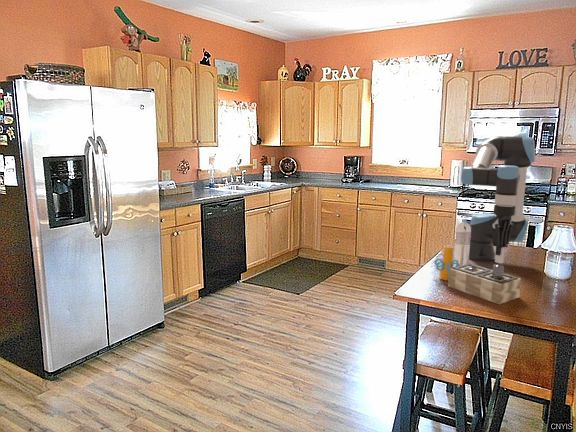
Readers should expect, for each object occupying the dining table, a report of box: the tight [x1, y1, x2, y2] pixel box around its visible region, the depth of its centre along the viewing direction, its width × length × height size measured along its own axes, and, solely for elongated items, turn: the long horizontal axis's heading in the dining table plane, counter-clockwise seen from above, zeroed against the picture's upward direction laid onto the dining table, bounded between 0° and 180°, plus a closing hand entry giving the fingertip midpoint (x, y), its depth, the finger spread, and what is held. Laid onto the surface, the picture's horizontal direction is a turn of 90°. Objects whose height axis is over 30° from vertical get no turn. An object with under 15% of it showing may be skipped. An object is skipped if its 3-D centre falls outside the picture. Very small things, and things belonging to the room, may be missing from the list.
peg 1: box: [466, 267, 477, 272], centre depth 195 cm, size 4×4×8 cm
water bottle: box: [453, 218, 472, 267], centre depth 218 cm, size 7×7×25 cm
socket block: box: [447, 263, 522, 305], centre depth 190 cm, size 14×24×8 cm, turn 33°
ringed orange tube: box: [434, 245, 460, 281], centre depth 206 cm, size 12×10×15 cm
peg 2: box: [492, 263, 505, 280], centre depth 184 cm, size 4×4×8 cm
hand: (498, 262), depth 183 cm, fingers closed
